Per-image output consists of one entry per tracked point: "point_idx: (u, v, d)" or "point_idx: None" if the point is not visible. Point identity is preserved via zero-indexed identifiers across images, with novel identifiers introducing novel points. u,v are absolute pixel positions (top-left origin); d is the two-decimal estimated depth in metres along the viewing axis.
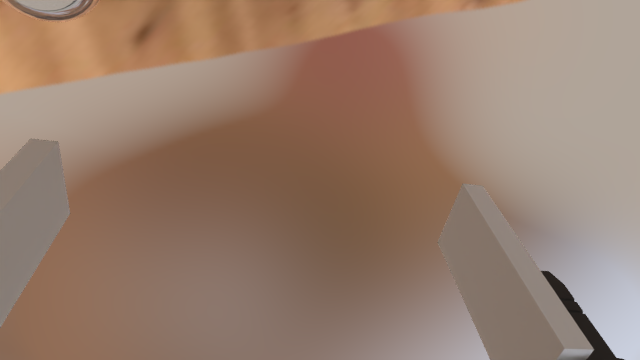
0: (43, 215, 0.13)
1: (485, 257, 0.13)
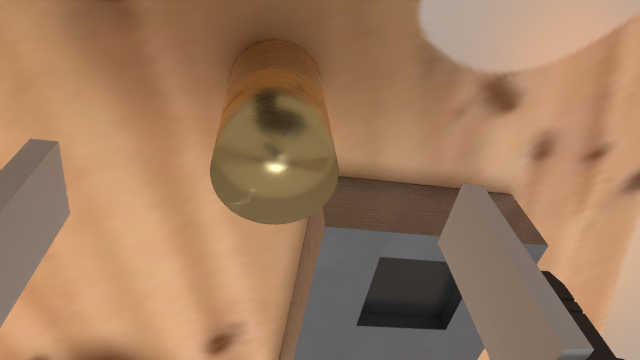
0: (43, 215, 0.13)
1: (485, 257, 0.13)
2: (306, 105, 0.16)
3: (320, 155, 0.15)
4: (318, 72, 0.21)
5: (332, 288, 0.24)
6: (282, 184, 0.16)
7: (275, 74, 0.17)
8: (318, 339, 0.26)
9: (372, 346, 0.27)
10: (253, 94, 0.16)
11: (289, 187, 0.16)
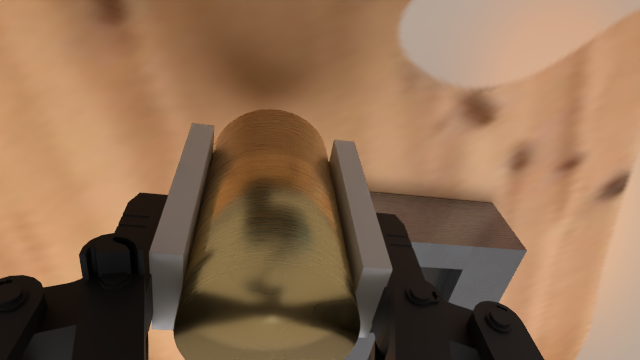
0: None
1: (339, 203, 0.14)
2: (313, 228, 0.11)
3: (335, 308, 0.10)
4: (325, 149, 0.17)
5: None
6: (279, 343, 0.11)
7: (270, 172, 0.12)
8: None
9: (362, 352, 0.28)
10: (240, 209, 0.11)
11: (289, 346, 0.11)
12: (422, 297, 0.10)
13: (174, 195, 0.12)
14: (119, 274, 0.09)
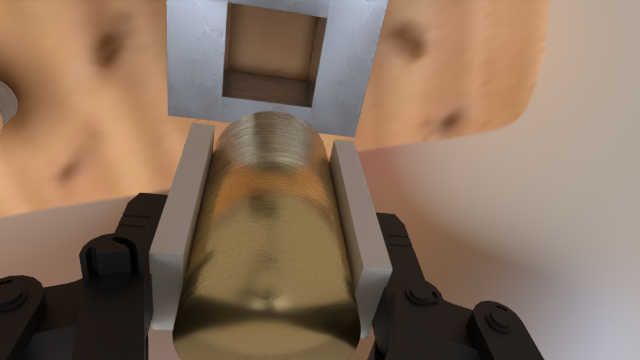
0: None
1: (339, 202, 0.14)
2: (314, 231, 0.11)
3: (335, 313, 0.10)
4: (325, 151, 0.16)
5: None
6: (278, 347, 0.11)
7: (269, 175, 0.12)
8: None
9: None
10: (239, 213, 0.11)
11: (290, 350, 0.11)
12: (422, 297, 0.10)
13: (174, 195, 0.12)
14: (119, 274, 0.09)
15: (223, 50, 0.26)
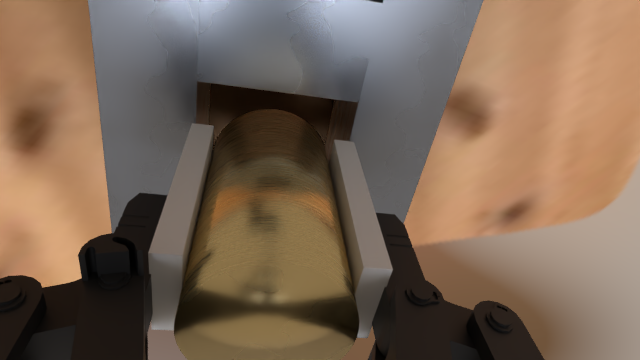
0: None
1: (339, 203, 0.14)
2: (313, 226, 0.11)
3: (334, 306, 0.10)
4: (324, 149, 0.17)
5: None
6: (278, 341, 0.11)
7: (269, 171, 0.13)
8: (130, 10, 0.13)
9: (245, 43, 0.14)
10: (239, 209, 0.11)
11: (289, 344, 0.11)
12: (423, 297, 0.10)
13: (174, 195, 0.12)
14: (118, 274, 0.09)
15: None
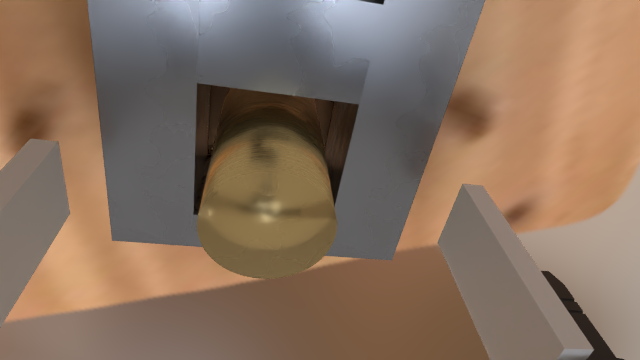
0: (43, 215, 0.13)
1: (485, 257, 0.13)
2: (302, 152, 0.14)
3: (317, 209, 0.14)
4: (315, 105, 0.20)
5: None
6: (275, 238, 0.14)
7: (269, 114, 0.16)
8: (129, 12, 0.13)
9: (245, 44, 0.14)
10: (245, 138, 0.15)
11: (283, 241, 0.14)
12: None
13: None
14: None
15: (193, 152, 0.16)
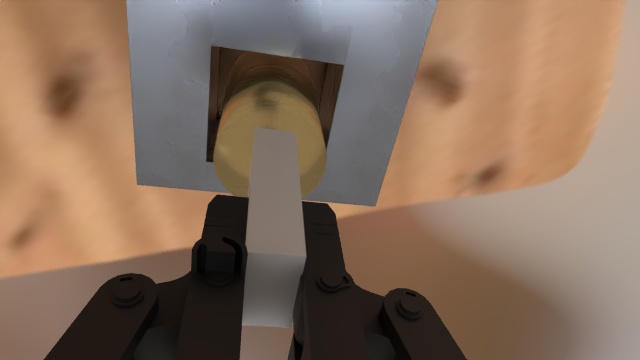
0: None
1: None
2: (297, 99, 0.18)
3: (310, 143, 0.17)
4: (309, 72, 0.23)
5: None
6: None
7: (270, 73, 0.19)
8: None
9: (250, 13, 0.18)
10: (251, 90, 0.18)
11: None
12: (333, 284, 0.10)
13: (255, 197, 0.13)
14: (223, 273, 0.10)
15: (207, 106, 0.20)
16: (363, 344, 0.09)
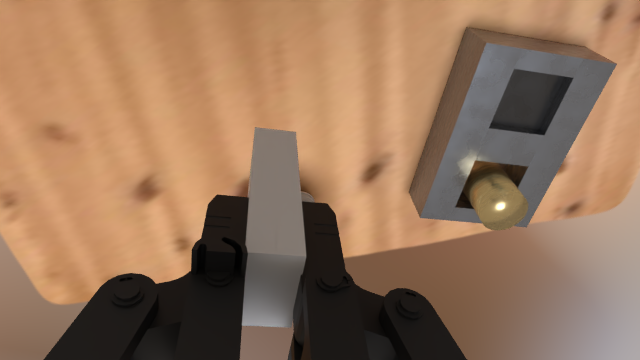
0: None
1: None
2: (513, 185, 0.42)
3: (522, 205, 0.41)
4: None
5: (480, 93, 0.38)
6: (506, 215, 0.41)
7: (494, 170, 0.43)
8: (462, 139, 0.41)
9: (495, 148, 0.41)
10: (493, 180, 0.42)
11: (508, 216, 0.42)
12: (333, 284, 0.10)
13: (255, 197, 0.13)
14: (223, 273, 0.10)
15: (464, 183, 0.43)
16: (363, 344, 0.09)
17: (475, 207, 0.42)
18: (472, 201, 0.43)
